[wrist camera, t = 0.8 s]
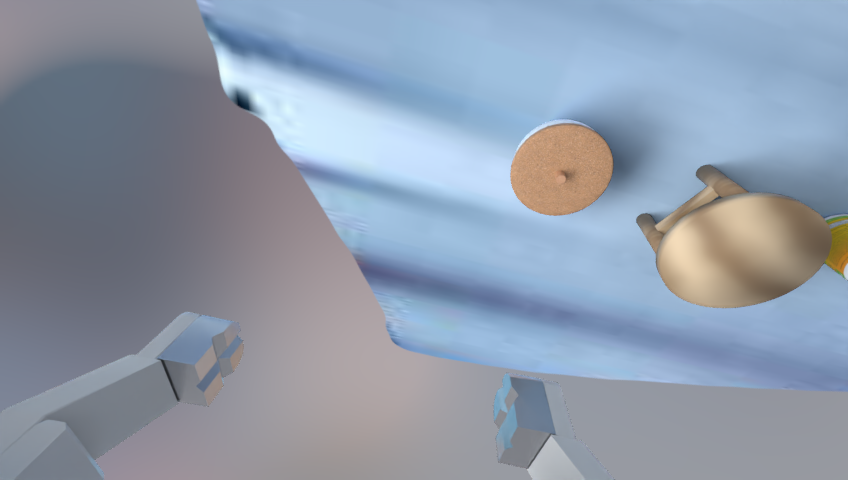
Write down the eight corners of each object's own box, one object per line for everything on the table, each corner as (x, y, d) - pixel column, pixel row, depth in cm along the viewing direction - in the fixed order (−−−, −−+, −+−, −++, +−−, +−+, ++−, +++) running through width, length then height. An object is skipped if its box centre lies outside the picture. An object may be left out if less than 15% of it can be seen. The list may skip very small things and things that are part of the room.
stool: (711, 139, 37) (763, 170, 29) (796, 206, 39) (869, 253, 31) (611, 222, 45) (630, 264, 37) (685, 274, 47) (719, 325, 39)
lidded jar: (549, 91, 39) (556, 107, 31) (619, 140, 40) (643, 167, 32) (495, 162, 45) (490, 190, 37) (557, 203, 46) (565, 238, 38)
